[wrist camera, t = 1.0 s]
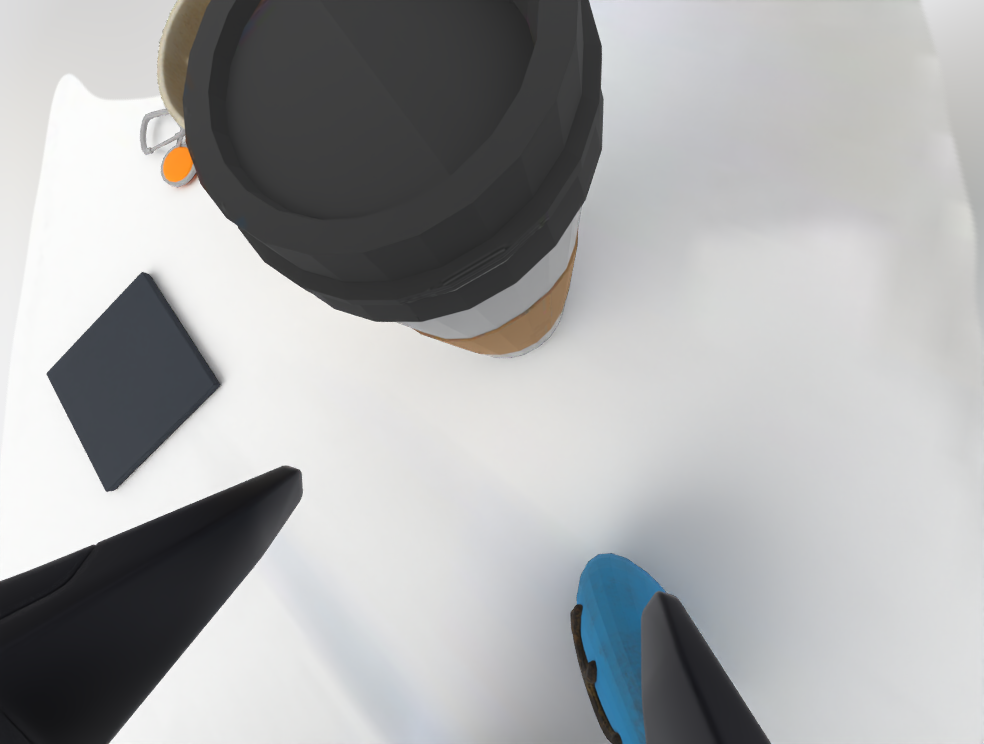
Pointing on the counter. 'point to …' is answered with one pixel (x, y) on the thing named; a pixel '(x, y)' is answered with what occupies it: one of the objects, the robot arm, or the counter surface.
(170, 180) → the key chain
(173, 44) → the flower pot
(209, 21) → the coffee cup
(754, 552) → the counter surface
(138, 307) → the mat
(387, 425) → the counter surface
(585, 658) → the ornament
